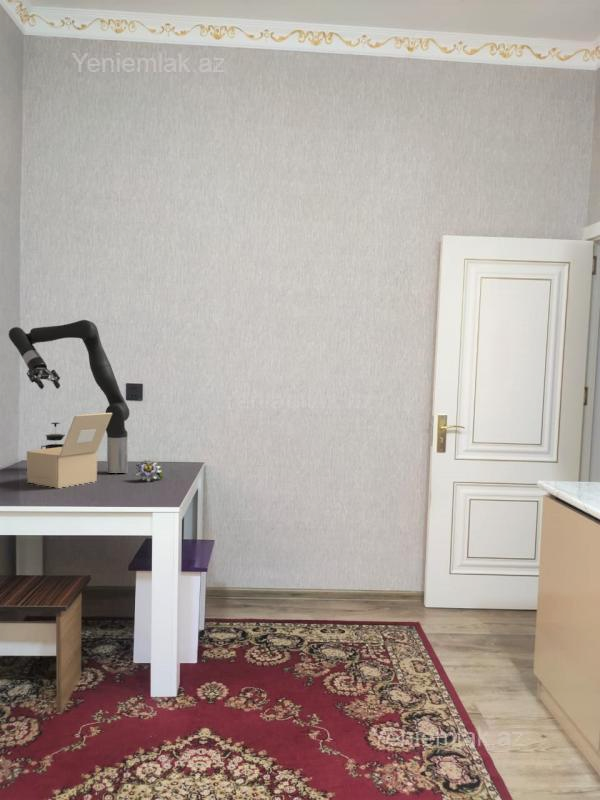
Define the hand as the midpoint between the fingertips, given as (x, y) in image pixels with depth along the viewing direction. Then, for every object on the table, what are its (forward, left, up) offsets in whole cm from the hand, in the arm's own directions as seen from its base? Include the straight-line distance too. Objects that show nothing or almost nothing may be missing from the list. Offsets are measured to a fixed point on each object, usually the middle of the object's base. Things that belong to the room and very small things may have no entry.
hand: (50, 387), depth 296 cm
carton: (-7, +18, -41) cm, 45 cm away
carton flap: (-18, +29, -18) cm, 38 cm away
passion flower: (-43, +17, -41) cm, 62 cm away
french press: (+1, -19, -41) cm, 45 cm away
